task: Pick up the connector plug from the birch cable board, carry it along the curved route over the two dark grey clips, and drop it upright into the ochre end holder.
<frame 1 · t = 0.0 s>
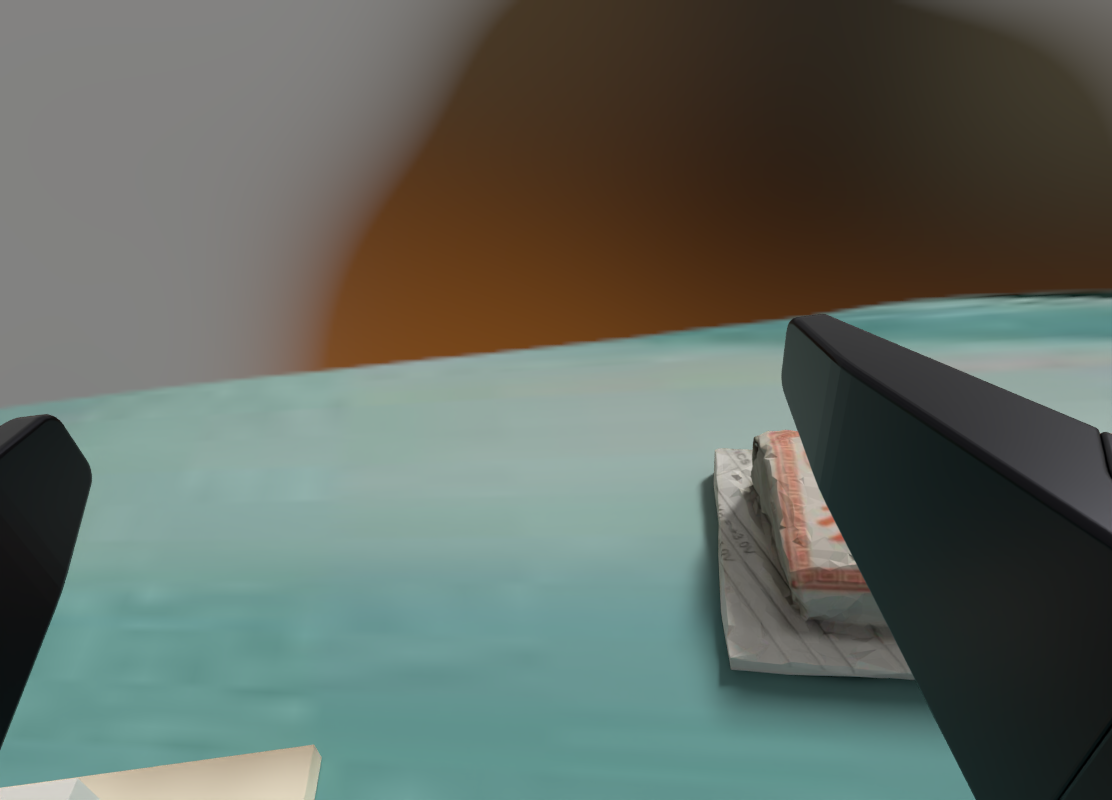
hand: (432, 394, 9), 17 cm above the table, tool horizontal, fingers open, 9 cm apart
packaged product: (965, 576, 26), on the table
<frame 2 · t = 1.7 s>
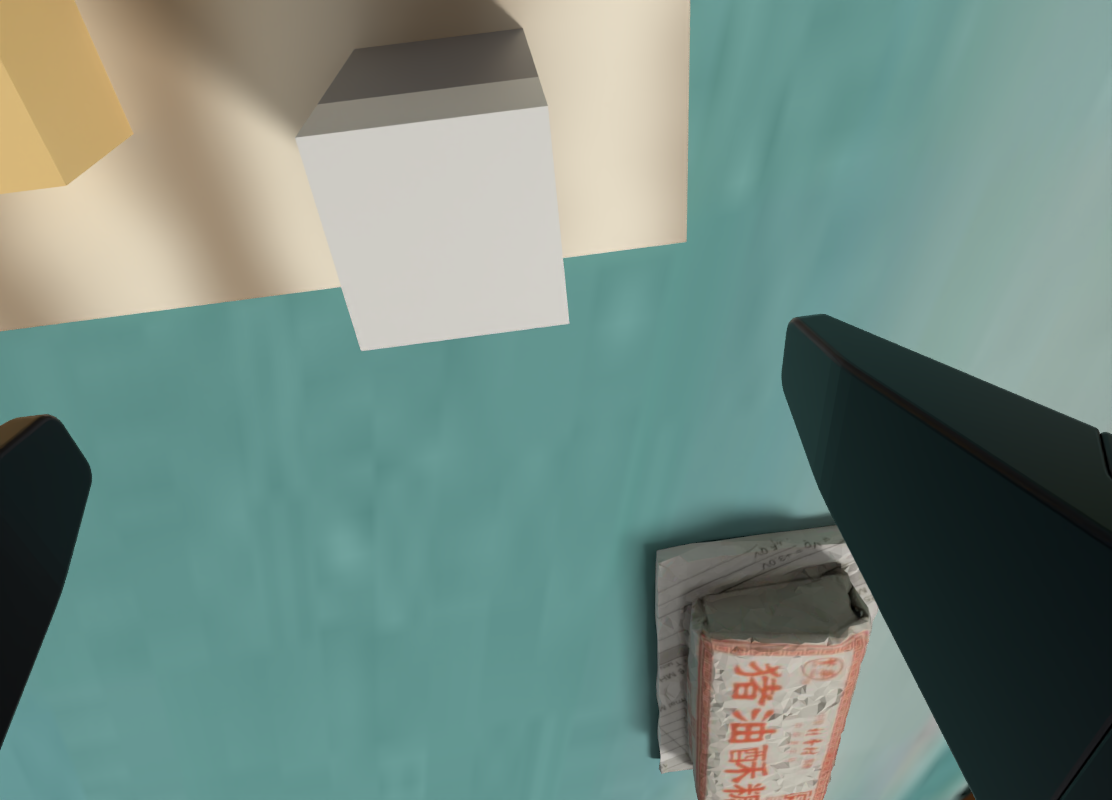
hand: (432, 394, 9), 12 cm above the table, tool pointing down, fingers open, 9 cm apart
connector plug: (454, 125, 18), point 1 cm above the table, touching cable board
packaged product: (751, 644, 36), on the table
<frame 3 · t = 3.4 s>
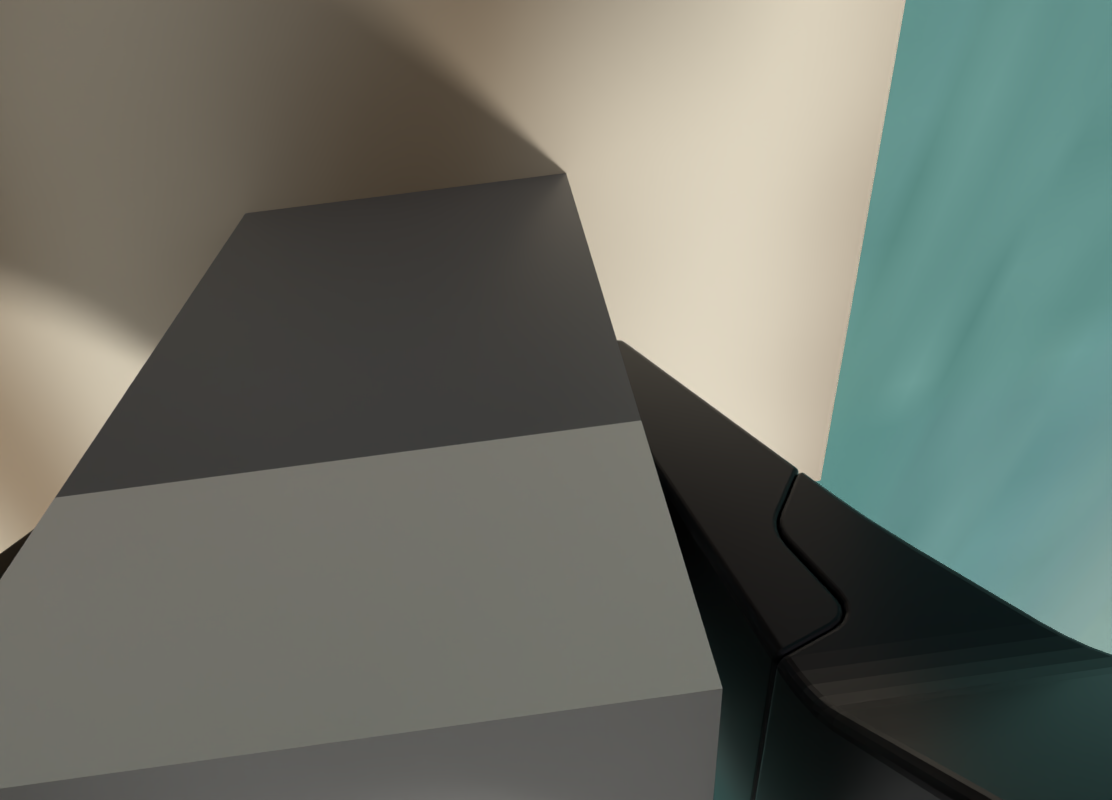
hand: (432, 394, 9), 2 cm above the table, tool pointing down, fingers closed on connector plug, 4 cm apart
connector plug: (437, 330, 10), point 1 cm above the table, touching cable board, gripper
when the fingers open (5 cm above the table, at t = 8.1 s): connector plug drops 3 cm, resting on end holder.
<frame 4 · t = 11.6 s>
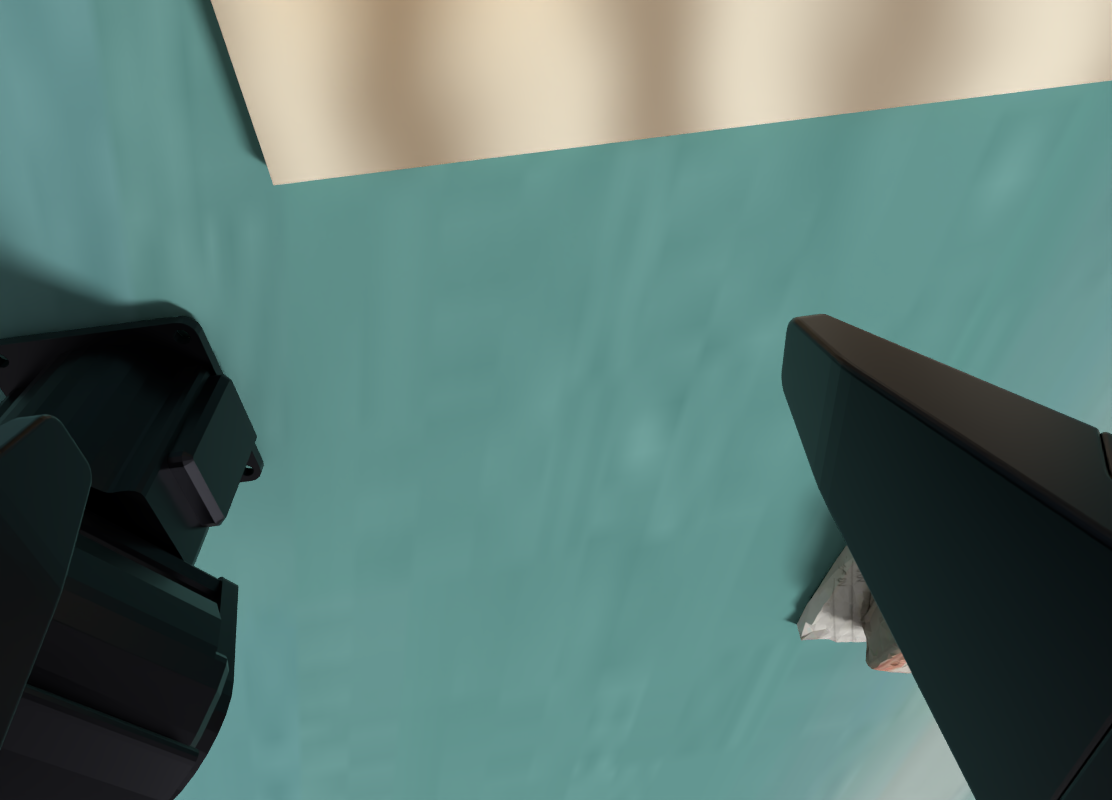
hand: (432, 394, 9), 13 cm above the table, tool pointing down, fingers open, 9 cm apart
packaged product: (998, 559, 34), on the table
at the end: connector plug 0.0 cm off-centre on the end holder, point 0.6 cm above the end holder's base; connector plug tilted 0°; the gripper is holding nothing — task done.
